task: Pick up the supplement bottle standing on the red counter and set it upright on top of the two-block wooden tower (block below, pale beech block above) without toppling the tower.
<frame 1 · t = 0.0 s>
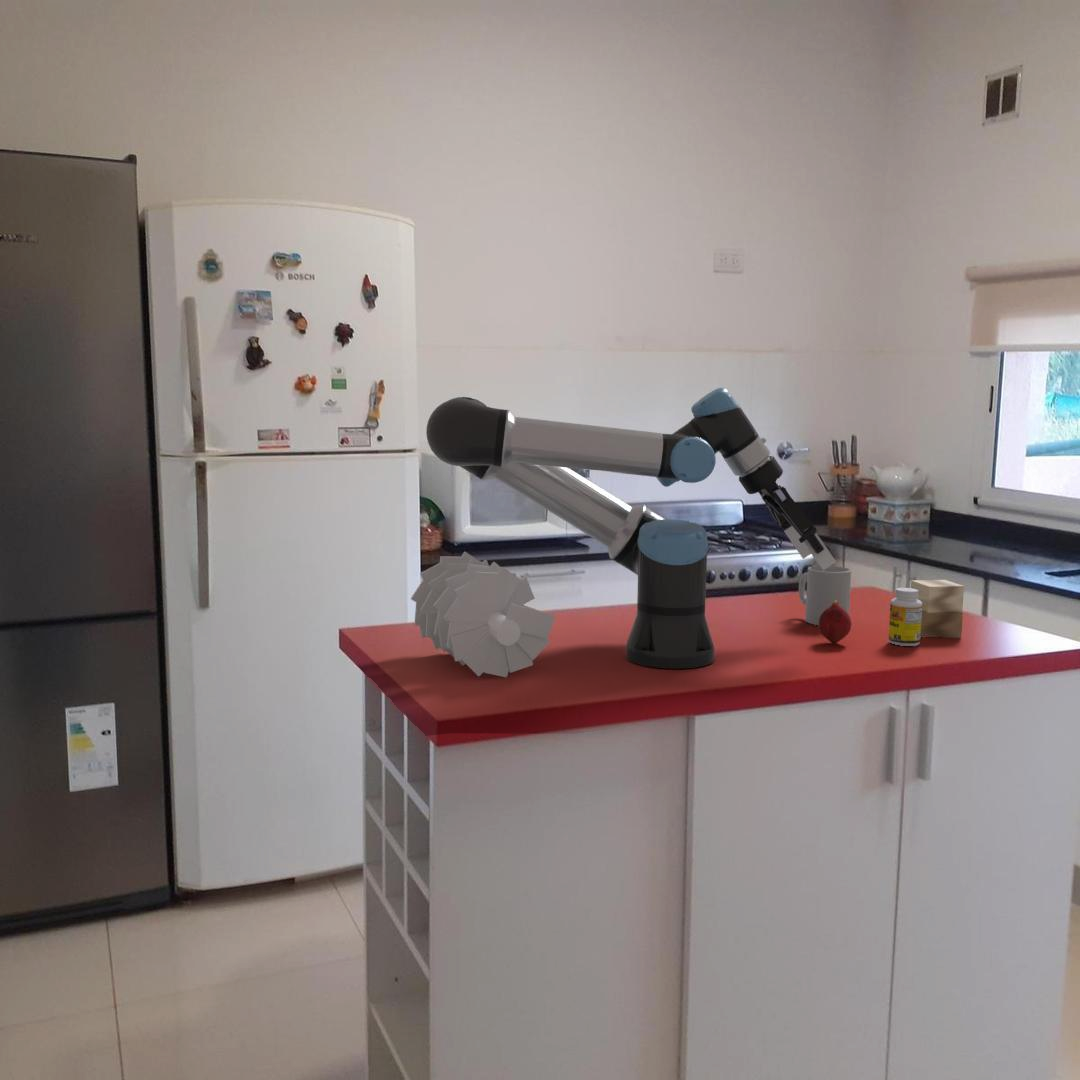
hand: (818, 560, 201), 15 cm above the table, tool tilted 35°, fingers open, 13 cm apart
mug: (820, 622, 222), on the table
top block: (935, 608, 210), point 5 cm above the table, touching bottom block
spiral staircase: (478, 665, 184), on the table
supplement bottle: (903, 645, 202), on the table
bottom block: (934, 634, 211), on the table, touching top block
onion: (833, 644, 202), on the table
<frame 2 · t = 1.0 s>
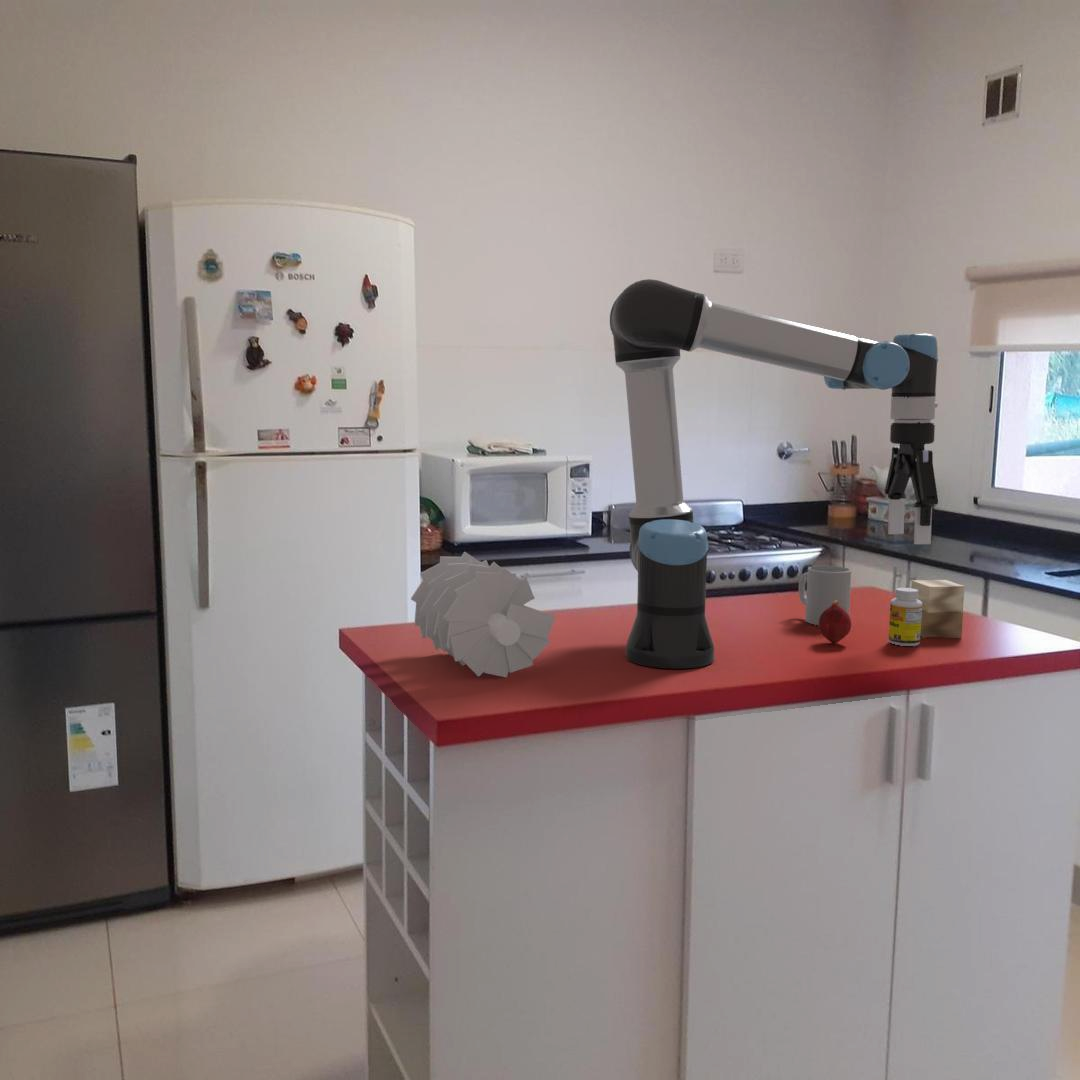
hand: (908, 539, 199), 20 cm above the table, tool pointing down, fingers open, 13 cm apart
nothing on the table moved.
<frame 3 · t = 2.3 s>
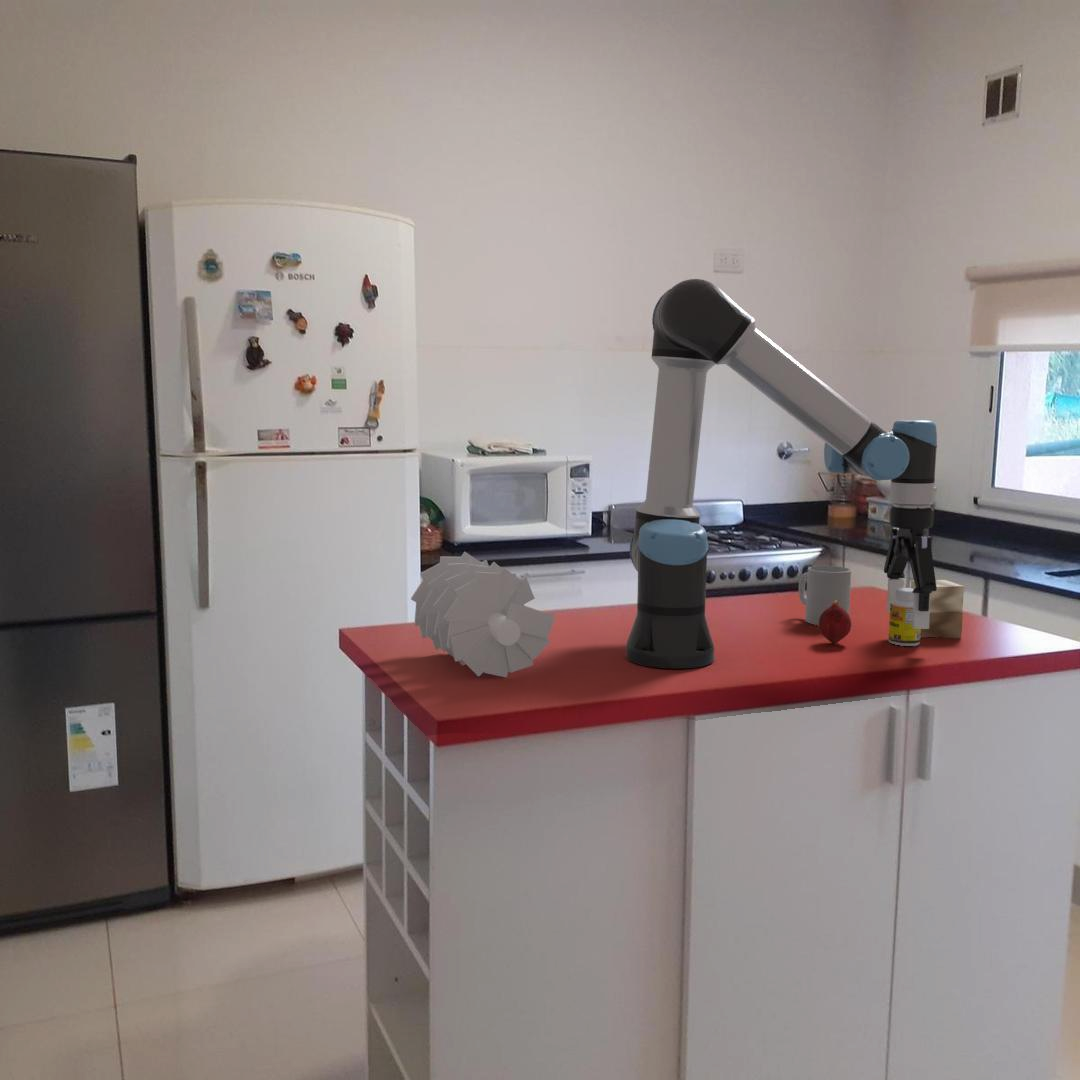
hand: (907, 620, 201), 4 cm above the table, tool pointing down, fingers open, 13 cm apart
nothing on the table moved.
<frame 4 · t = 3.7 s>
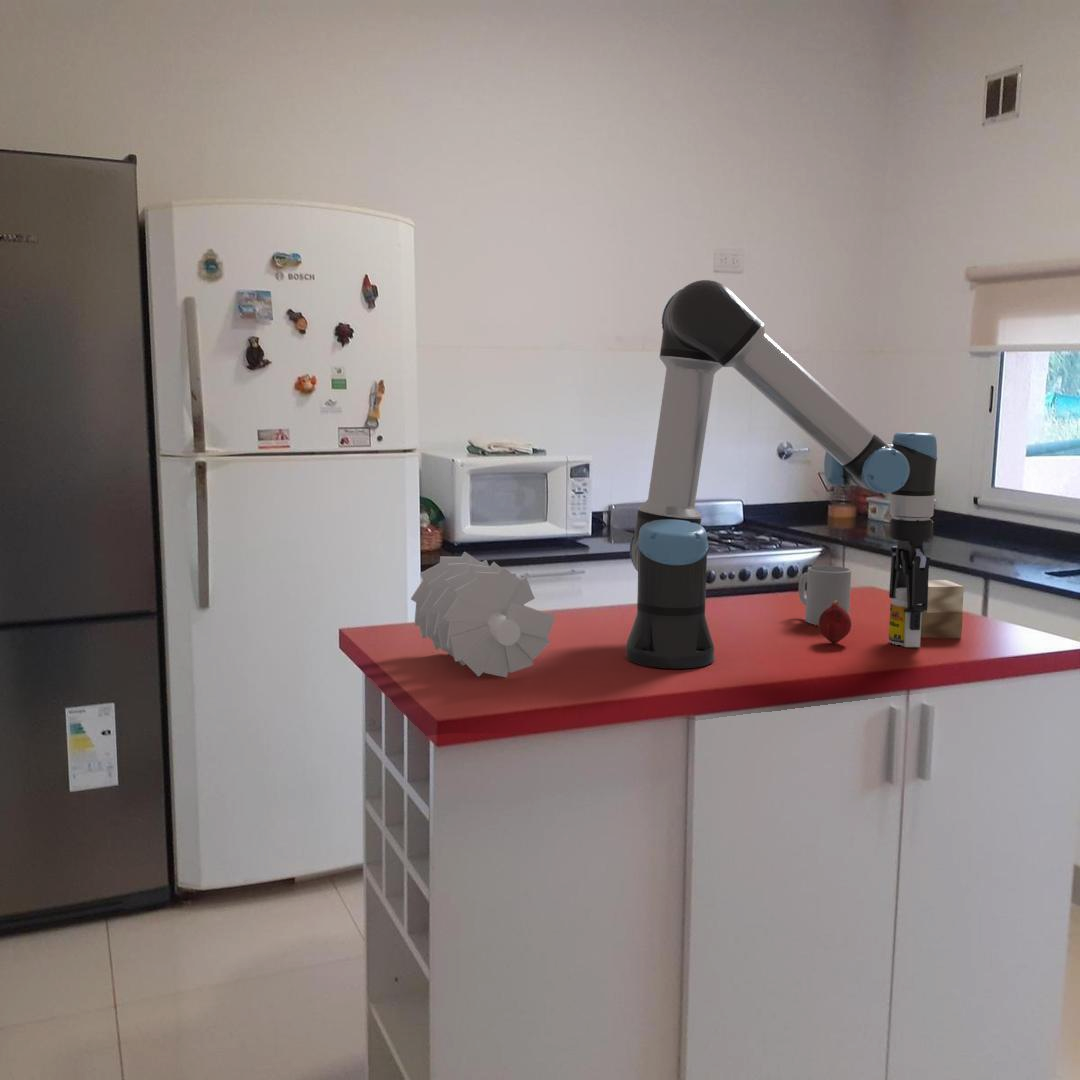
hand: (905, 642, 202), 0 cm above the table, tool pointing down, fingers closed on supplement bottle, 6 cm apart
supplement bottle: (904, 645, 202), on the table, touching gripper
everything else where it was.
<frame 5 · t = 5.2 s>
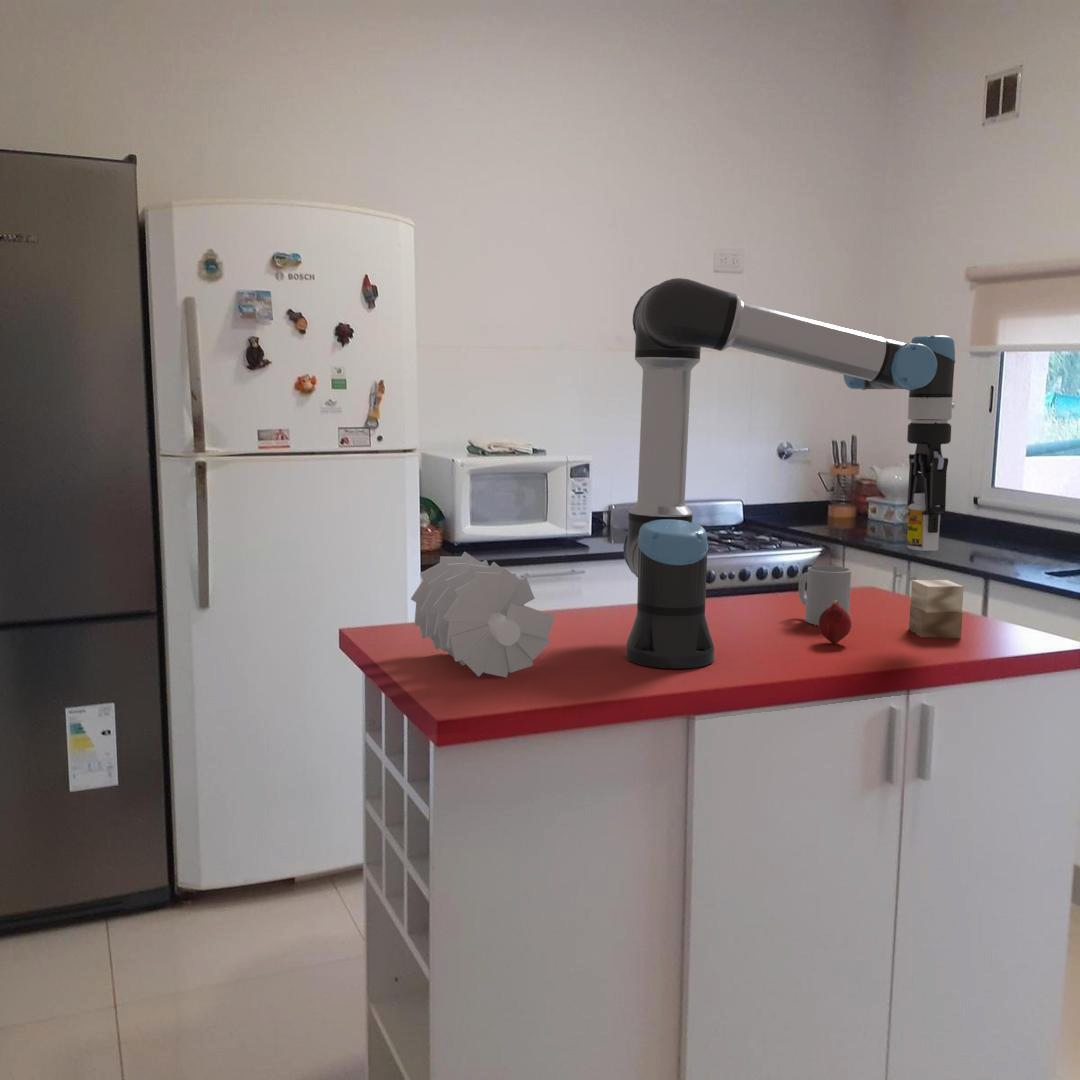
hand: (923, 547, 203), 18 cm above the table, tool pointing down, fingers closed on supplement bottle, 6 cm apart
top block: (935, 608, 211), point 5 cm above the table
supplement bottle: (922, 550, 203), point 17 cm above the table, touching gripper
bottom block: (934, 634, 211), on the table
everything else where it was.
when the fingers open (11 cm above the table, at t = 7.0 s): supplement bottle stays where it is, resting on top block.
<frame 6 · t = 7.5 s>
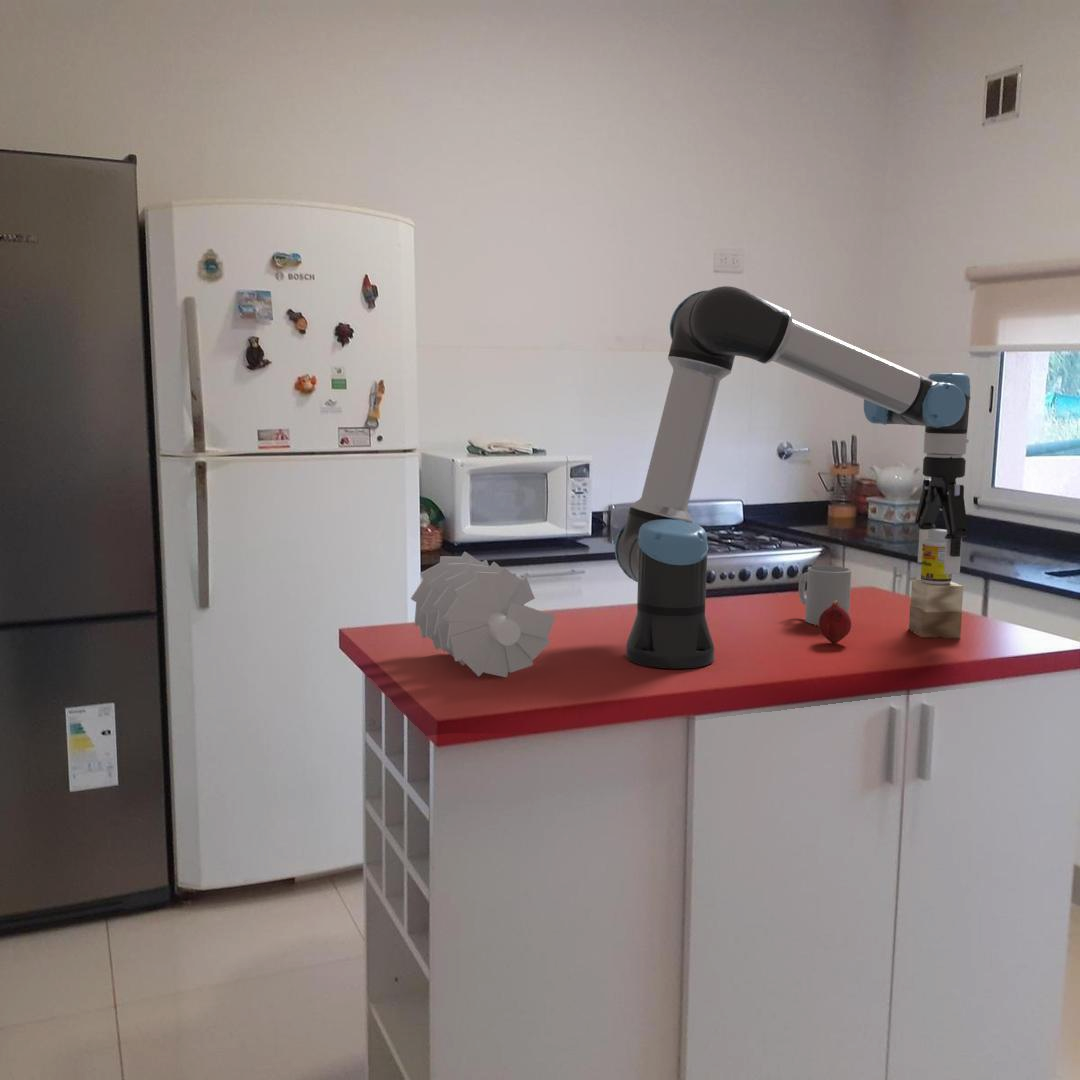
hand: (937, 567, 209), 13 cm above the table, tool pointing down, fingers open, 13 cm apart
top block: (935, 608, 211), point 5 cm above the table, touching supplement bottle, bottom block
supplement bottle: (935, 584, 210), point 10 cm above the table, touching top block
bottom block: (934, 634, 211), on the table, touching top block
everything else where it was.
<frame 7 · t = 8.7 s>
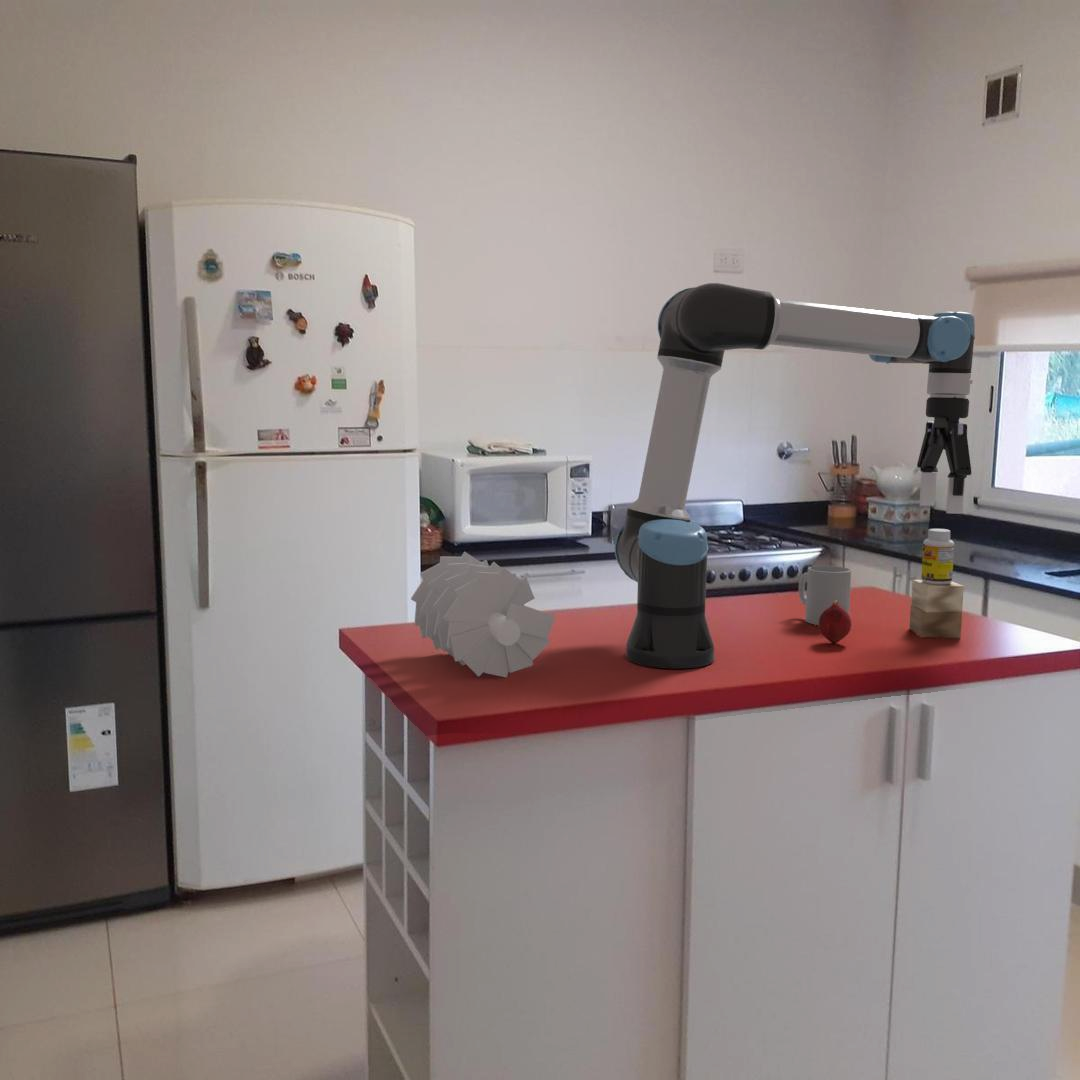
hand: (939, 509, 208), 24 cm above the table, tool pointing down, fingers open, 13 cm apart
nothing on the table moved.
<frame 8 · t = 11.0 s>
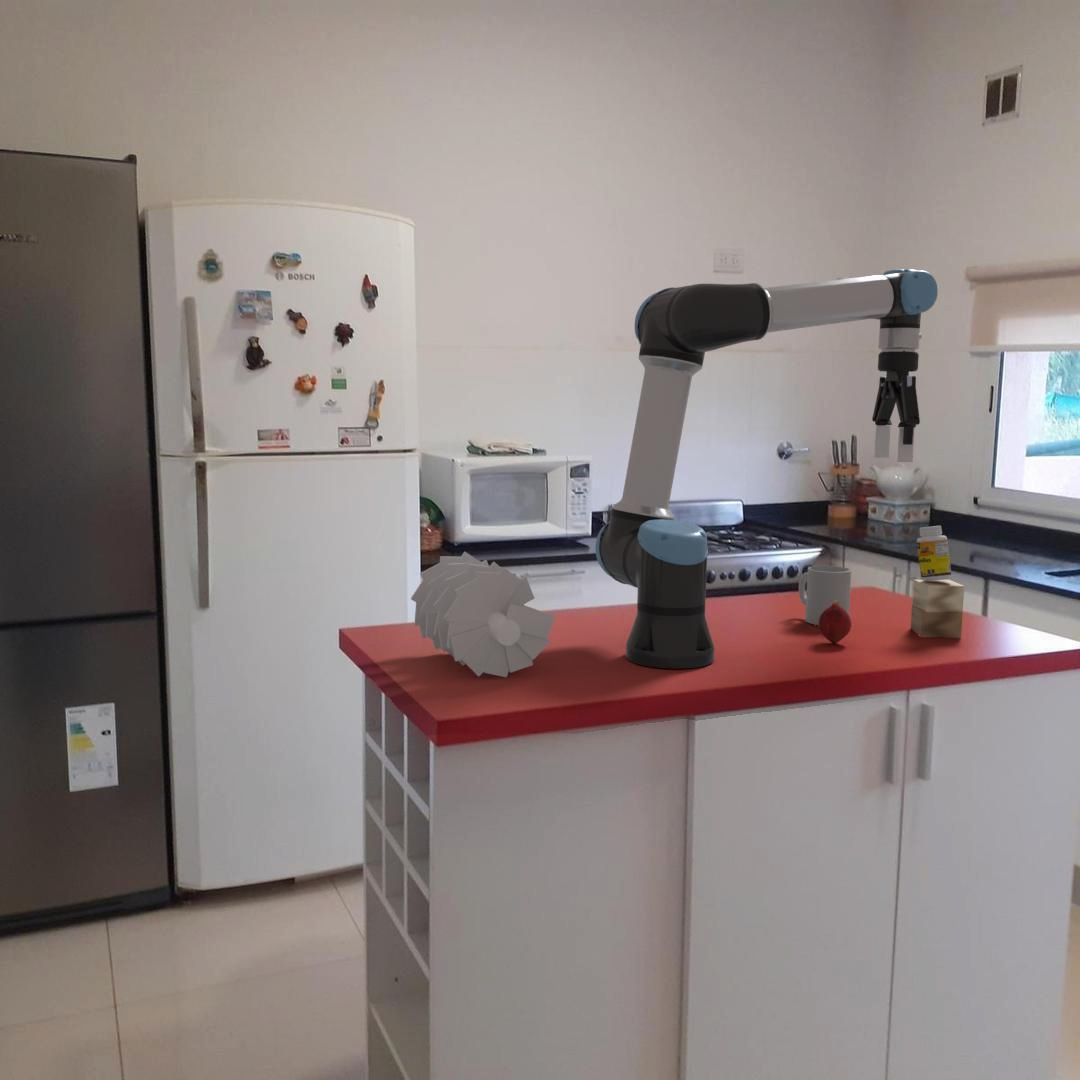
hand: (892, 459, 217), 33 cm above the table, tool pointing down, fingers open, 13 cm apart
at the end: supplement bottle 0.5 cm from the top block (horizontally); supplement bottle inside the target area (0.1 cm from its centre), point 10.3 cm above the table; top block tilted 0° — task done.
